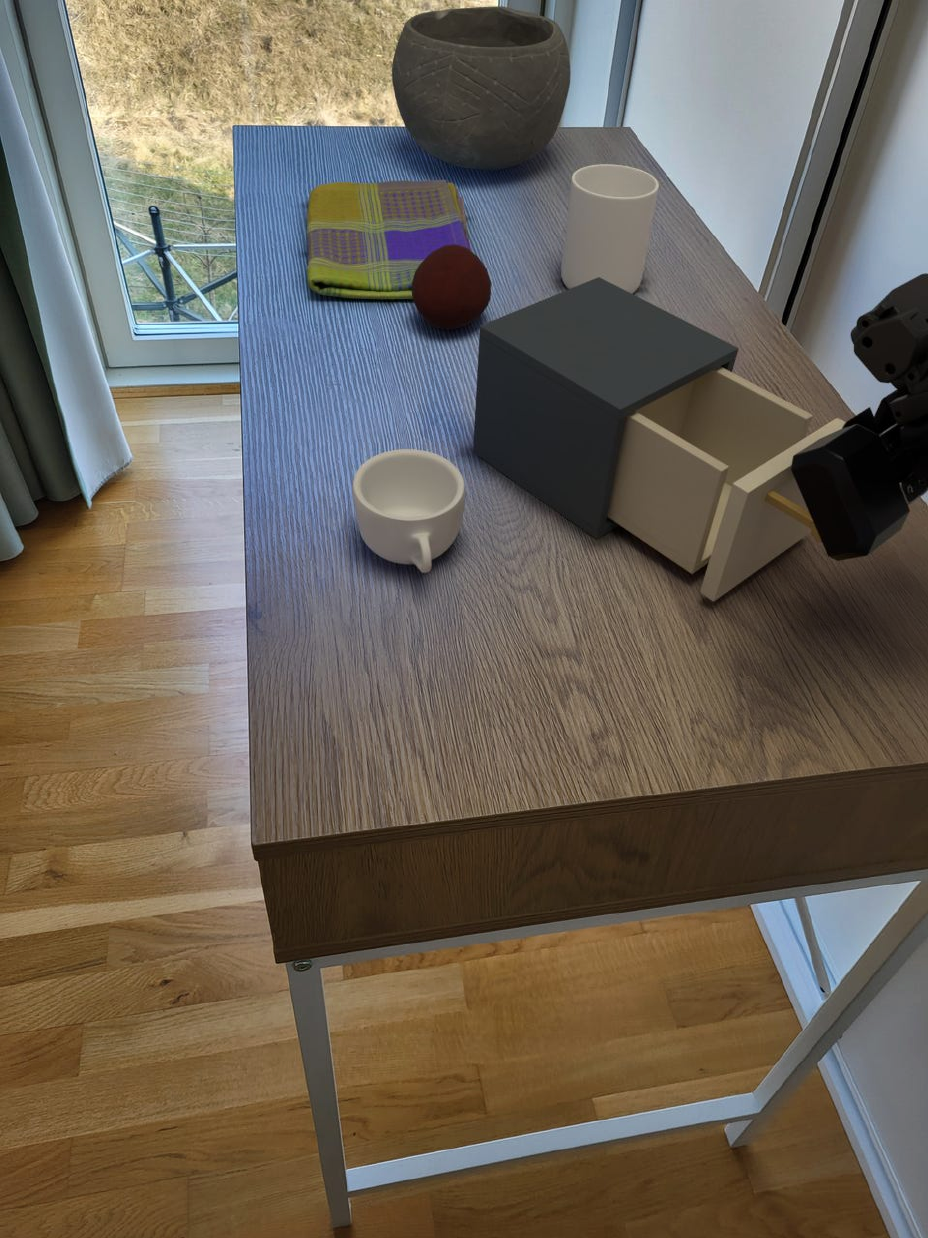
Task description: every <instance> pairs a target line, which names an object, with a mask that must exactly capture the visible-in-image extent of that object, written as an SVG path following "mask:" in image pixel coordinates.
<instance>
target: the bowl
mask: <svg viewBox="0 0 928 1238" xmlns="http://www.w3.org/2000/svg"><path fill="white" fill-rule="evenodd" d="M571 73H572V72H571V60H570V52H569V47H568V43H567V40H566V37H565V35H564V33H563V30H562V29H561V27H560V26H559V24H558V23H557V22H556V21H555V20H553V19H551V18H548V17H546V16H544V15H543V16H542V15H540V14H537V13H534V12H528V11H522V10H518V9H515V8H511V7H507V6H503V5H500V6H499V5H498V6H497V5H496V6H478V7H477V6H476V7H474V6H473V7H460V8H447V9H442V10H431V11H426V12H421V13H418V14H415V15H413V16H412V17H410V18H409V19H408V20H406V21H405V23H404V26H403V27H402V31H401V32H400V35H399V38H398V41H397V43H396V46H395V51H394V54H393V58H392V66H391V81H392V87H393V94H394V98H395V101H396V106H397V108H398V112H399V115H400V117H401V120H402V122H403V124H404V127H405V129H406V130H407V132H408V133H409V135H410V137H411V138H412V139H413V140H414V142H416V144H417V145H418V146H419V147H420V148H421V149H422V150H424V151H425V152H426V153H427V154H429V155H430V156H432V158H433V157H434V158H436V159H437V160H440V161H442V162H444V163H445V164H446V163H447V164H449V165H451V166H455V167H459V168H464V169H468V170H477V171H498V170H504V169H509V168H512V167H515V166H518V165H521V164H523V163H526V162H527V161H529V160H531V159H532V158H533V157H535V156H536V155H538V154H539V153H540V152H541V151H542V150H543V149H544V148H546V146H547V145H548V144H549V143H550V141H551V140H552V139H553V137H554V136H555V134H556V132H557V131H558V127H559V125H560V122H561V119H562V116H563V114H564V111H565V107H566V103H567V99H568V94H569V91H570V85H571Z"/></svg>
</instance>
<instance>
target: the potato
mask: <svg viewBox="0 0 928 1238" xmlns="http://www.w3.org/2000/svg"><path fill="white" fill-rule="evenodd" d="M411 291H412V298H413V299H412V301H413V303H414V306H415V309H416V311H417V312H418V314H419V315H420V316H421V317H422V319H424V321H425V322H427V323H428V324H429V325H431V326H433V327H434V328H438V329H441V330H454V329H458V328H463V327H465V326H468V325H469V324H471V323H473V322H475V321H476V320H477V319H479V318H480V317H481V316H482V315H483V313H484V312H485V310H487V307H488V306H489V303H490V301H491V299H492V280H491V277H490V274H489V271H488V268H487V267H486V266H485V264H484V263H483V261H482V260H481V259H480V258H479V256H478V255H477V254H476V253H474V252H473V251H472V250H471V249H470V250H469V249H468V248H466V247H463V246H460V245H456V244H454V245H446V246H443V247H441V248H439V249H437V250H435V251H433V252H432V253H431V254H429V255H428V256H427V257H426V258H425V259H424V261H423V262H422V263H421V264H420V265H419V266H418V268H417V270H416V271H415V274H414V277H413V280H412V286H411Z"/></svg>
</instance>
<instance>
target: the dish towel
mask: <svg viewBox="0 0 928 1238" xmlns="http://www.w3.org/2000/svg"><path fill="white" fill-rule="evenodd" d="M306 215H307V217H306V246H307V264H306V265H307V266H306V274H307V285H308V287H309V288H310V290H311V291H313V292H314V293H317V295H318V294H319V295H322V296H328V297H337V298H343V299H359V300H360V299H361V300H413V298H412V291H411V286H412V280H413V277H414V274H415V271H416V270H417V268H418V266H419V265H420V264H421V263H422V262H423V261H424V259H425V258H426V257H427V256H428V255H429V254H431V253H432V252H433V251H435V250H437V249H439V248H441V247H443V246H446V245H454V244H456V245H460V246H463V247H466V248H468V249H469V250H470V251H471V247H470V246H471V245H470V237H469V232H468V227H467V218H466V211H465V207H464V198H463V197H461V194H460V190H459V189H458V188H456V186H455V184H454V183H453V182H447V180H446V179H435V180H386V181H380V182H379V181H377V182H352V181H351V182H350V181H334V182H326V183H322V184H320V185H317V186H315V187H314V188H312V190H311V191H310V192H309V195H308V202H307V213H306Z"/></svg>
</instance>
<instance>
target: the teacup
mask: <svg viewBox="0 0 928 1238" xmlns="http://www.w3.org/2000/svg"><path fill="white" fill-rule="evenodd" d="M352 481H353V482H352V487H351V494H352V500H353V501H352V502H353V508H354V512H355V517H356V518H355V519H356V522H357V525H358V526H357V527H358V530H359V534H360V536H361V538H362V540H363V541H364V543H365V544H366V546H367V547H368V548H369V549H370V551H372V552H373V553H374V554H375V555H377V556H379V557H381V559H383V560H386V561H389V562H391V563H396V564H400V565H415V566H416V567H417V569H418V570H419V571H420V572H421V573H422V574H427V573H430V572H431V570H432V565H433V564H432V563H433V562H432V561H433V560H434V559H437V558H438V557H440V556H441V555H443V554H444V553H445V552H446V551H447V550H448V549H449V548H450V547H451V546H452V544H453V543H454V542H455V540H456V538H457V536H458V535H459V533H460V531H461V526H462V522H463V516H464V511H465V504H466V485H465V480H464V477H463V475H462V473H461V471H460V470H459V468H457V466H456V465H455V464H453V463H452V462H451V461H450V460H448V459H447V458H445V457H443V456H441V455H439V454H437V453H434V452H431V451H428V450H422V449H415V448H399V449H392V450H387V451H383V452H381V453H379V454H376V455H373V456H372V457H370V458H369V459H367V460H365V461H364V462H363V463H362V464H361V465H360V467H358V468H357V471H356V472H355V474H354V477H353V480H352Z"/></svg>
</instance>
